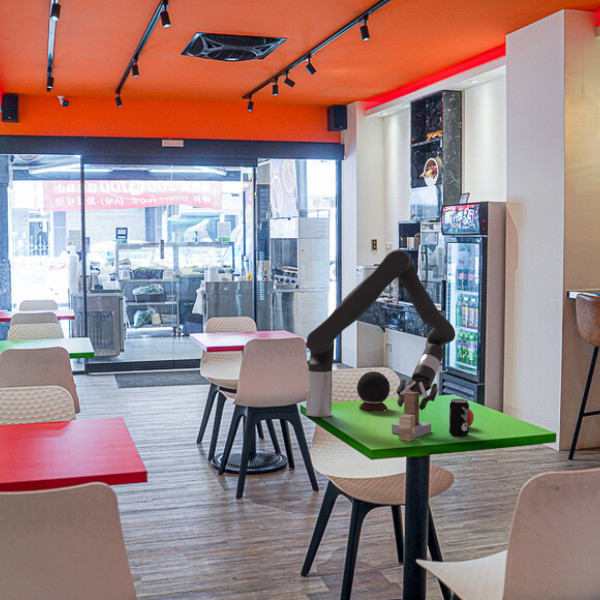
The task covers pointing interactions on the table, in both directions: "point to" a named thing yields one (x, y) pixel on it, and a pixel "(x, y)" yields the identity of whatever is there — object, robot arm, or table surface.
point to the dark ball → (373, 391)
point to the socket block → (419, 429)
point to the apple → (470, 417)
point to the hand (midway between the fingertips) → (410, 407)
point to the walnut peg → (412, 405)
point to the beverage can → (459, 417)
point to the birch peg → (406, 427)
